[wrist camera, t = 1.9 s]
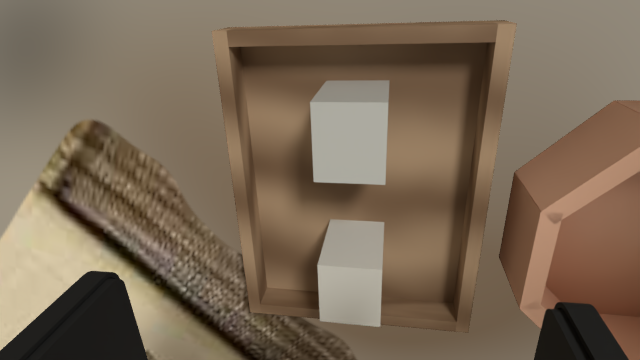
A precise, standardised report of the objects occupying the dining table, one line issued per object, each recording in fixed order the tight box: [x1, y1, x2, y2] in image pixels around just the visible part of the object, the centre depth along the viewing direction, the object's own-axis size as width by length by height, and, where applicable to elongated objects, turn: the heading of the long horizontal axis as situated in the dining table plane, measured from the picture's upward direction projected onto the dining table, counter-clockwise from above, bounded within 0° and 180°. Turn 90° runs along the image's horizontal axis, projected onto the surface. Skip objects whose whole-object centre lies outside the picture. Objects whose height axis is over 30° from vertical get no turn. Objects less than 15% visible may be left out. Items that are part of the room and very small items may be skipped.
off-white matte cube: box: [310, 80, 389, 185], centre depth 21 cm, size 4×4×5 cm
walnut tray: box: [212, 20, 517, 333], centre depth 25 cm, size 19×15×2 cm
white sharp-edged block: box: [317, 219, 384, 327], centre depth 25 cm, size 4×4×5 cm
